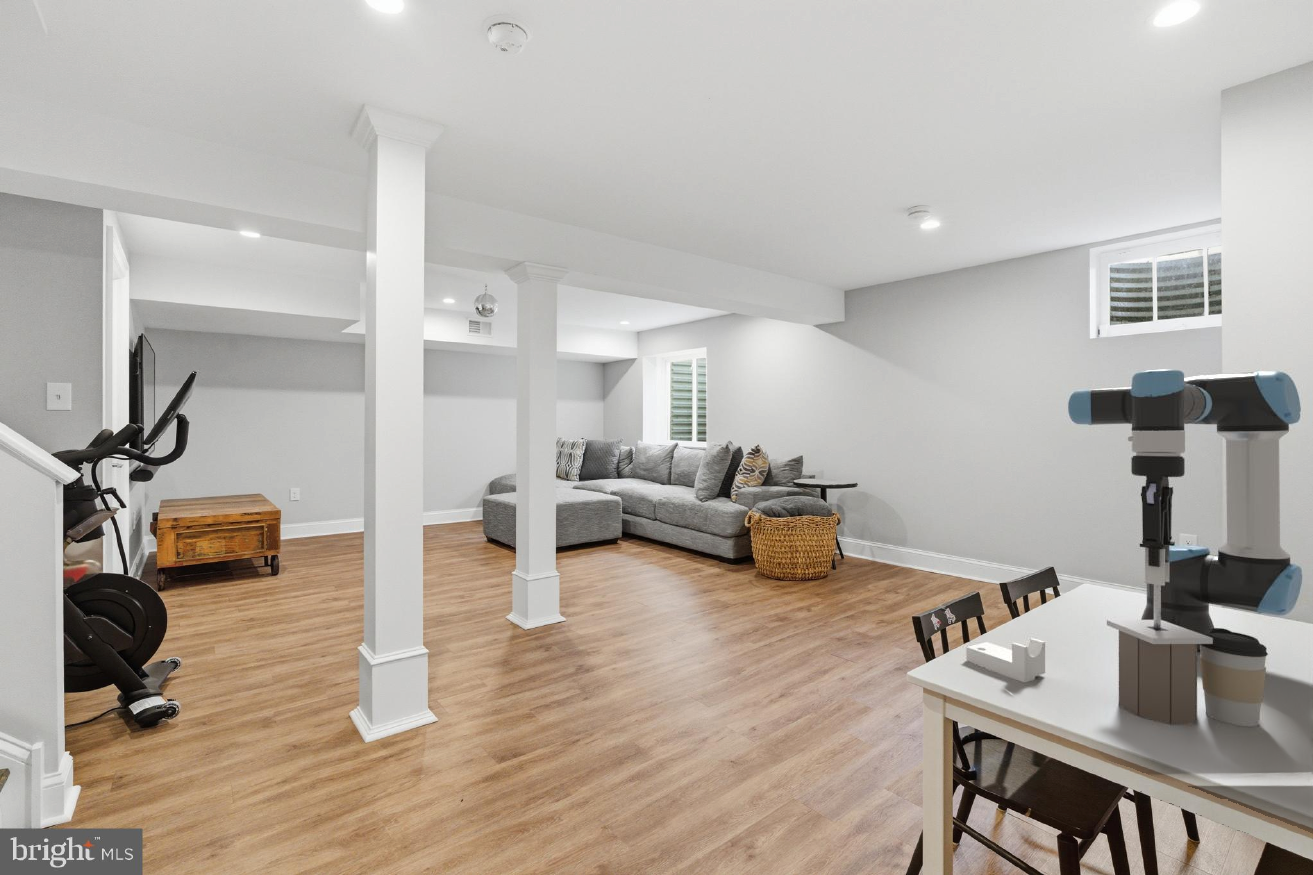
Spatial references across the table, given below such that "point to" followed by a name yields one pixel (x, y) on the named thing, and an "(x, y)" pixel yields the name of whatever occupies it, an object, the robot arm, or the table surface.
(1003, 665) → the bracket
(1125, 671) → the brown pedestal
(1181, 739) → the table surface
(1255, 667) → the coffee cup
